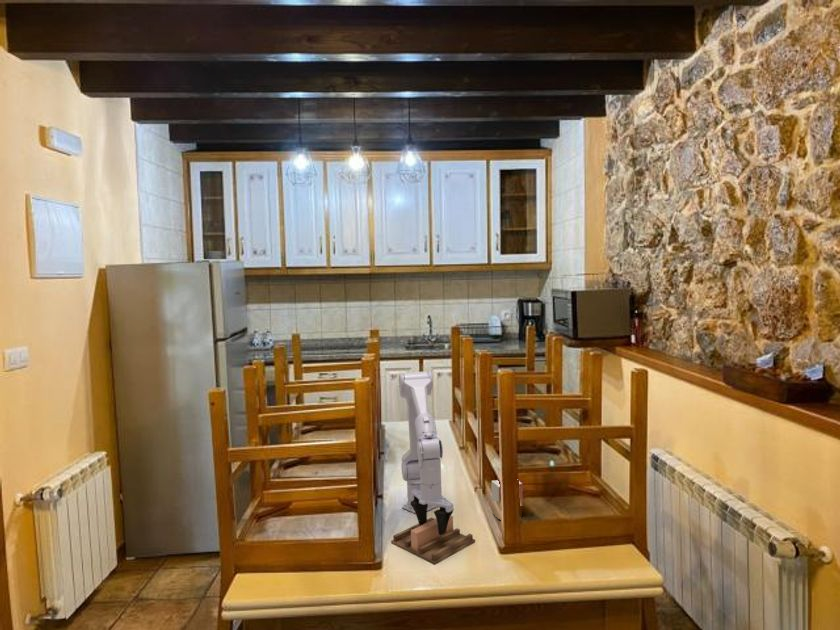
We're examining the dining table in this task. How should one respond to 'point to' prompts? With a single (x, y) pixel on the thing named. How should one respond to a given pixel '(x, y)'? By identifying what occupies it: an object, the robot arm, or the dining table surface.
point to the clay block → (428, 533)
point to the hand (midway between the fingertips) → (432, 529)
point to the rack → (434, 544)
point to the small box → (496, 491)
